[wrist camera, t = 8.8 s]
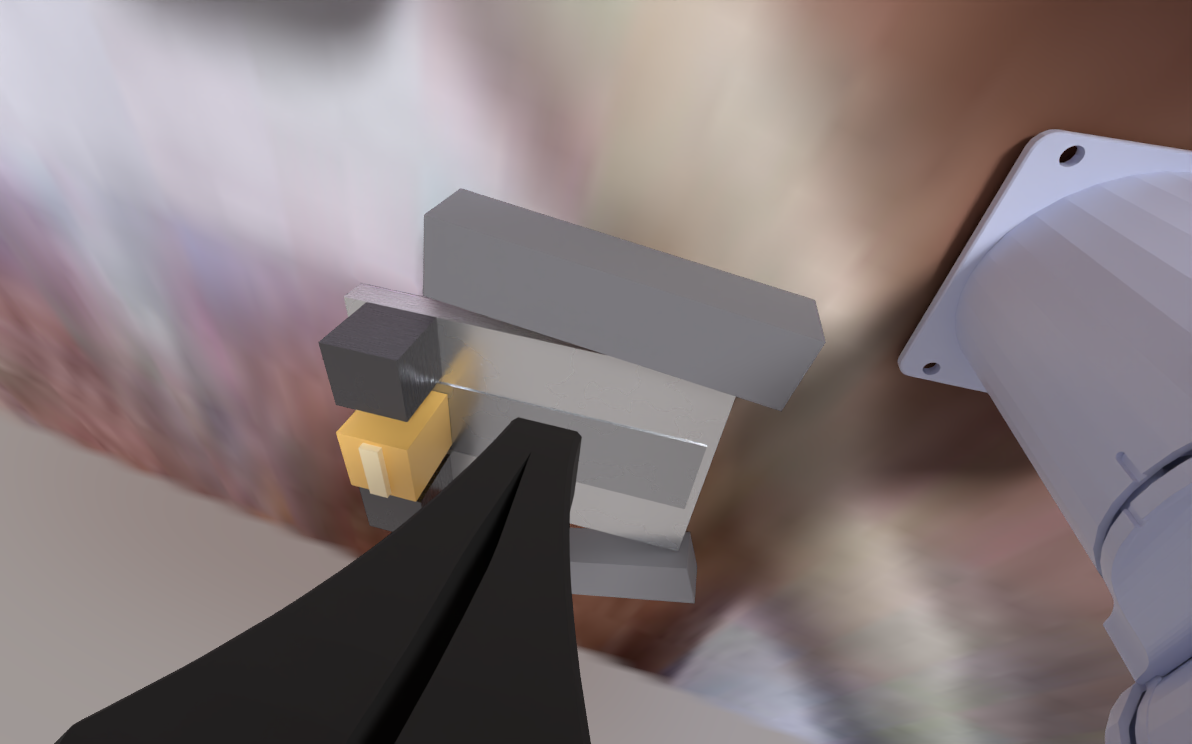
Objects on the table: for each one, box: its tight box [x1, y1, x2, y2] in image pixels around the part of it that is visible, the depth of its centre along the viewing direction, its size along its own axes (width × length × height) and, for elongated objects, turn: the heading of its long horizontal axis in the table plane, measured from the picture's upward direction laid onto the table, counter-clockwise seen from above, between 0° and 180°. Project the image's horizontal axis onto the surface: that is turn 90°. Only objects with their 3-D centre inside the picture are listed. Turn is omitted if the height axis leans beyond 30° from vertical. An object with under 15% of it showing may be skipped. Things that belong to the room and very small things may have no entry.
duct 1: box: [423, 189, 826, 411], centre depth 18 cm, size 13×3×3 cm, turn 77°
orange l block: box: [336, 390, 452, 502], centre depth 22 cm, size 3×3×4 cm
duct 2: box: [569, 528, 697, 603], centre depth 29 cm, size 13×3×2 cm, turn 104°
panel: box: [319, 283, 735, 551], centre depth 22 cm, size 16×11×4 cm
